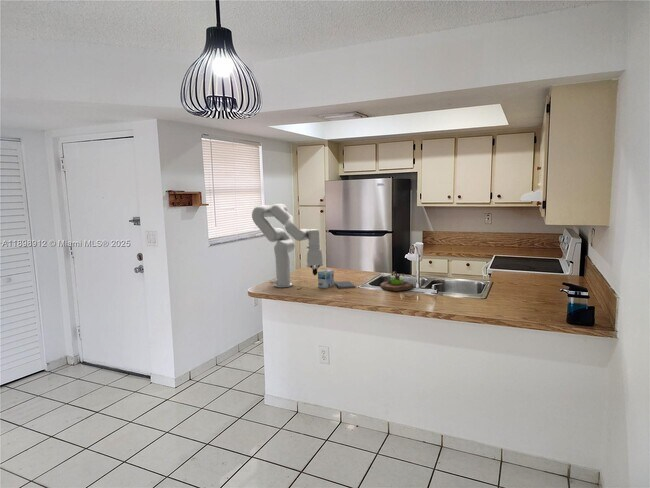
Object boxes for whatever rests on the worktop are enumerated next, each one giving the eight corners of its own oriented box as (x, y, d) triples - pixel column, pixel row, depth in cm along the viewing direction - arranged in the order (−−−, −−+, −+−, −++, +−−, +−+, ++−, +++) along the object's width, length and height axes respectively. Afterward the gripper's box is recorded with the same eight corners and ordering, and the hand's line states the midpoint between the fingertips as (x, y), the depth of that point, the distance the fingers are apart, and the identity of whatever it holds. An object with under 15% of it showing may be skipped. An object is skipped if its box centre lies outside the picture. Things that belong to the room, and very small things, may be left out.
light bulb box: (326, 288, 267) (326, 272, 266) (317, 287, 271) (317, 271, 270) (334, 285, 276) (334, 269, 275) (325, 284, 280) (325, 269, 279)
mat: (338, 288, 266) (338, 286, 265) (333, 283, 281) (333, 281, 281) (355, 287, 268) (355, 285, 268) (349, 282, 283) (349, 280, 283)
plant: (374, 287, 270) (374, 270, 269) (395, 283, 281) (395, 267, 280) (396, 292, 254) (396, 274, 253) (417, 287, 265) (417, 271, 264)
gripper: (303, 249, 264) (304, 276, 266) (326, 247, 266) (327, 275, 268) (302, 247, 271) (303, 274, 273) (324, 246, 274) (325, 273, 276)
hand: (315, 274), depth 271 cm, fingers closed
